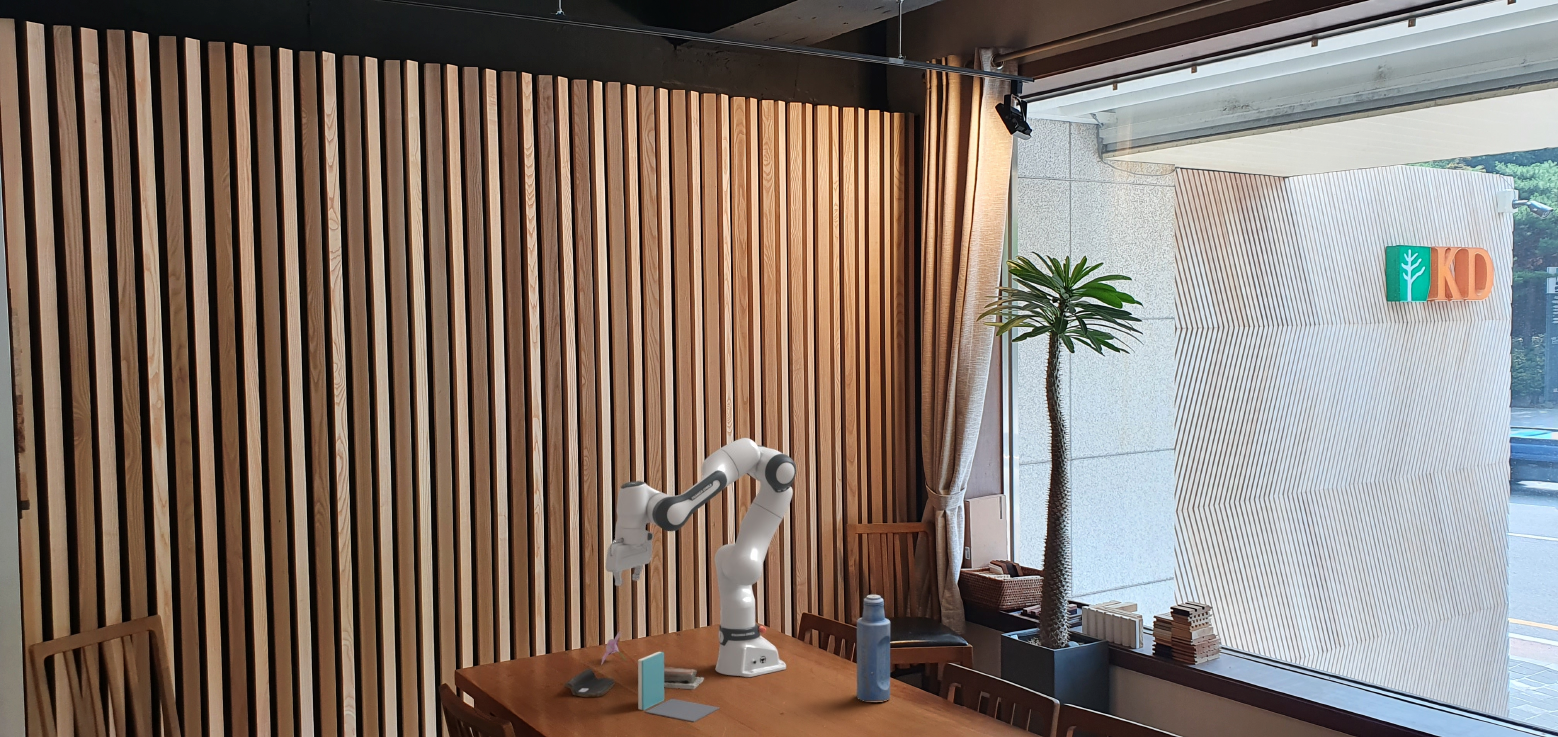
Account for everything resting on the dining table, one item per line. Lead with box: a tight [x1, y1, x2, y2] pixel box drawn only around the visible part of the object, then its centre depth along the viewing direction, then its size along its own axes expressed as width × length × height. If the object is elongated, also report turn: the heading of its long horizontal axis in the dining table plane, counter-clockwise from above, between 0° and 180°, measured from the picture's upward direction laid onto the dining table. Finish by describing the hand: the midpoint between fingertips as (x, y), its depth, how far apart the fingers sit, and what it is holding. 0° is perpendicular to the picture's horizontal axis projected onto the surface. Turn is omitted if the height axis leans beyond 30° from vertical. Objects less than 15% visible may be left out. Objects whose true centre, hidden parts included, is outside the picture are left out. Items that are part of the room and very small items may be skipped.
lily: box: [601, 630, 626, 666], centre depth 358 cm, size 12×12×10 cm
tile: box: [637, 651, 665, 711], centre depth 313 cm, size 2×10×14 cm, turn 150°
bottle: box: [856, 594, 891, 701], centre depth 318 cm, size 10×10×30 cm
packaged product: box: [664, 666, 705, 690], centre depth 334 cm, size 18×5×10 cm
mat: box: [644, 698, 721, 723], centre depth 308 cm, size 16×13×1 cm
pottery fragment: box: [564, 667, 615, 698], centre depth 327 cm, size 15×12×4 cm
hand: (627, 582), depth 325 cm, fingers open, 8 cm apart
